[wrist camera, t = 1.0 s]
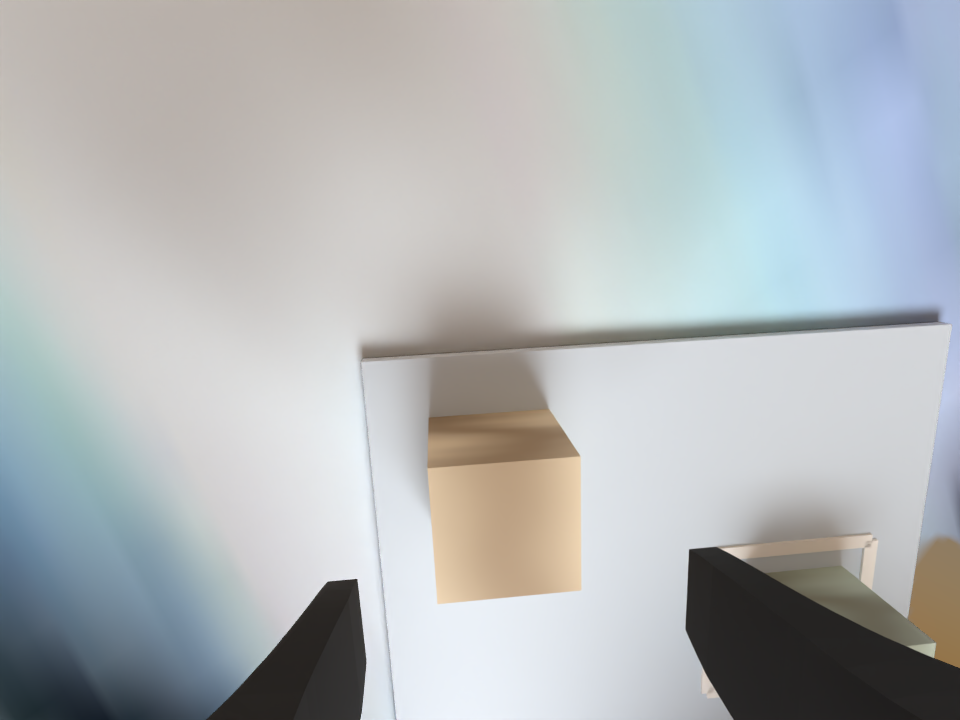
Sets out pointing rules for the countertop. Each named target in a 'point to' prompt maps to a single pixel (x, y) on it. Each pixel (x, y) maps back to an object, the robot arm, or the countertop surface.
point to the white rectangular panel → (654, 504)
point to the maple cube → (503, 506)
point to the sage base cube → (856, 604)
